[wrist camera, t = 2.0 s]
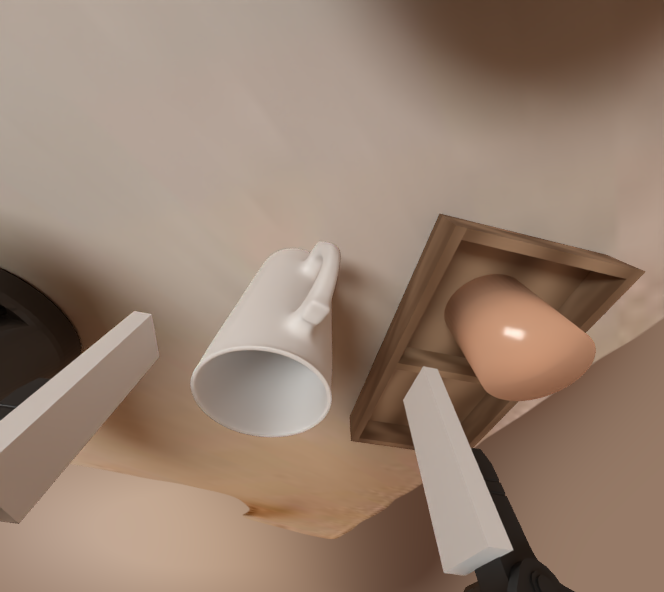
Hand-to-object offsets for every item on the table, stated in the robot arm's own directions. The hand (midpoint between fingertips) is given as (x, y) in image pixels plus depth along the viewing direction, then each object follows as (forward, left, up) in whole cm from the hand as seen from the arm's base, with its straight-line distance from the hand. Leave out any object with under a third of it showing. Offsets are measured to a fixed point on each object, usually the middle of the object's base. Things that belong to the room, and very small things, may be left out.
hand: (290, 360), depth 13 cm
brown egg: (+16, 0, -10) cm, 19 cm away
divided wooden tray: (+16, -6, -11) cm, 20 cm away
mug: (0, 0, -11) cm, 11 cm away
